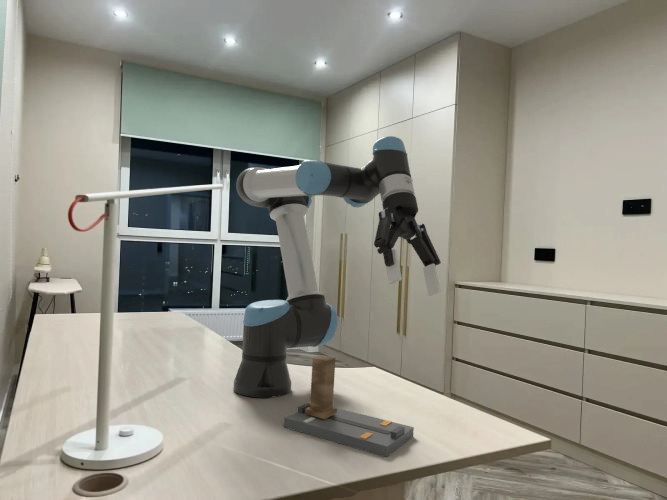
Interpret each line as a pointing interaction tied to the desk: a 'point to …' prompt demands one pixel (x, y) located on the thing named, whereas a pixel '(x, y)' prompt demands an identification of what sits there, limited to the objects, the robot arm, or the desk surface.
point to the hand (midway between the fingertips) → (415, 288)
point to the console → (352, 430)
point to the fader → (322, 388)
